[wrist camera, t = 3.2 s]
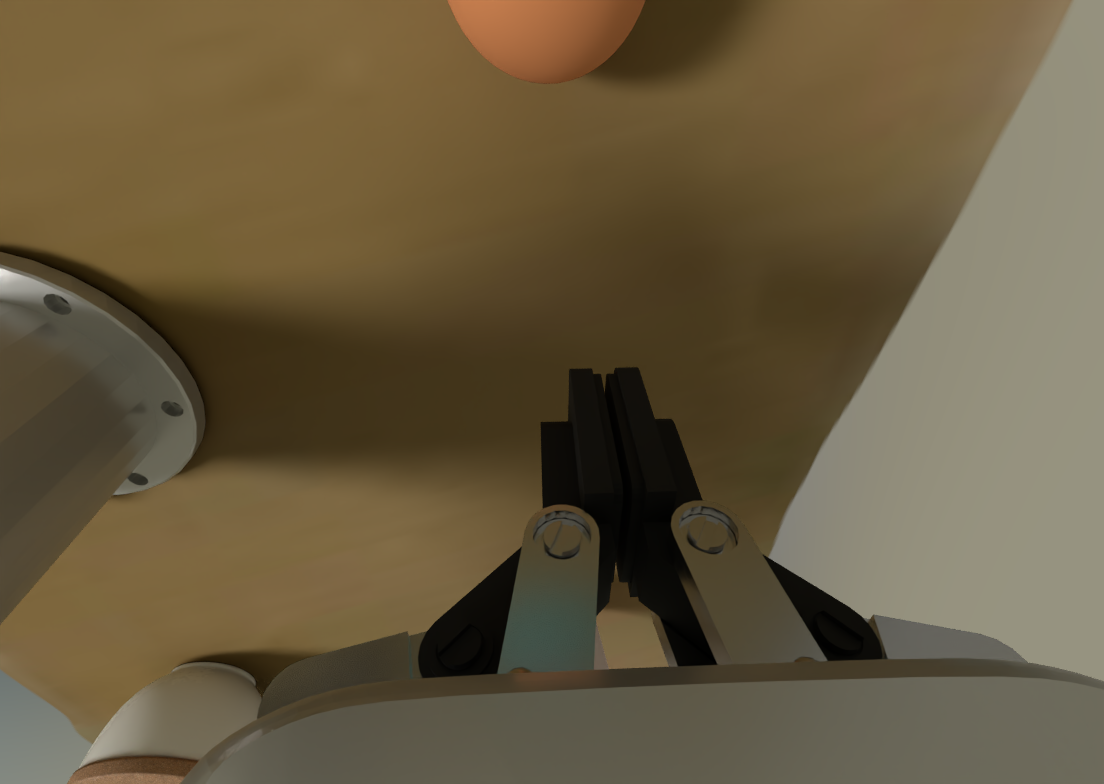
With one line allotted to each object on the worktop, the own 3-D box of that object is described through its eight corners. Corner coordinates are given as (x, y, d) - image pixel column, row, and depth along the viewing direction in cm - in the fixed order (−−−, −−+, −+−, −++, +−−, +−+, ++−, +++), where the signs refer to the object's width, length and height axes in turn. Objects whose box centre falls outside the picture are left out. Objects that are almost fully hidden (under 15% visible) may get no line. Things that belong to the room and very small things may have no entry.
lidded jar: (128, 695, 39) (37, 852, 32) (145, 633, 34) (42, 803, 27) (268, 716, 43) (217, 860, 36) (303, 662, 38) (251, 818, 31)
